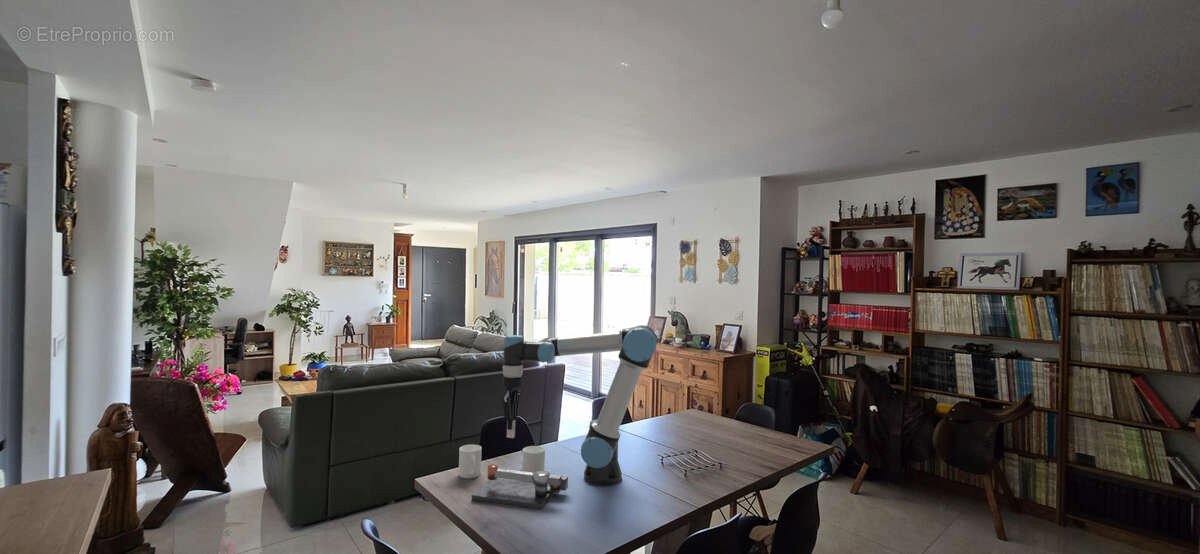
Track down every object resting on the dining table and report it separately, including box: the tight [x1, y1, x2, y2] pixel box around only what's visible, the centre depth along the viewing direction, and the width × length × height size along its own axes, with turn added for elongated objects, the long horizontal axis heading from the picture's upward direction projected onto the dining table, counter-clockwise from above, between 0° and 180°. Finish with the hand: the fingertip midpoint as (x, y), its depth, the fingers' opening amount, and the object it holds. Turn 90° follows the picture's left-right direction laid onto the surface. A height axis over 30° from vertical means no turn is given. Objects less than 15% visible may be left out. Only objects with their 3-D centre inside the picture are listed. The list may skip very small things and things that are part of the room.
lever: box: [487, 464, 562, 486], centre depth 177 cm, size 28×6×4 cm, turn 77°
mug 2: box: [519, 445, 546, 473], centre depth 202 cm, size 12×9×9 cm
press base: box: [471, 475, 569, 511], centre depth 177 cm, size 30×16×6 cm, turn 77°
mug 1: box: [458, 444, 482, 479], centre depth 195 cm, size 9×12×11 cm
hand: (510, 437), depth 188 cm, fingers closed
